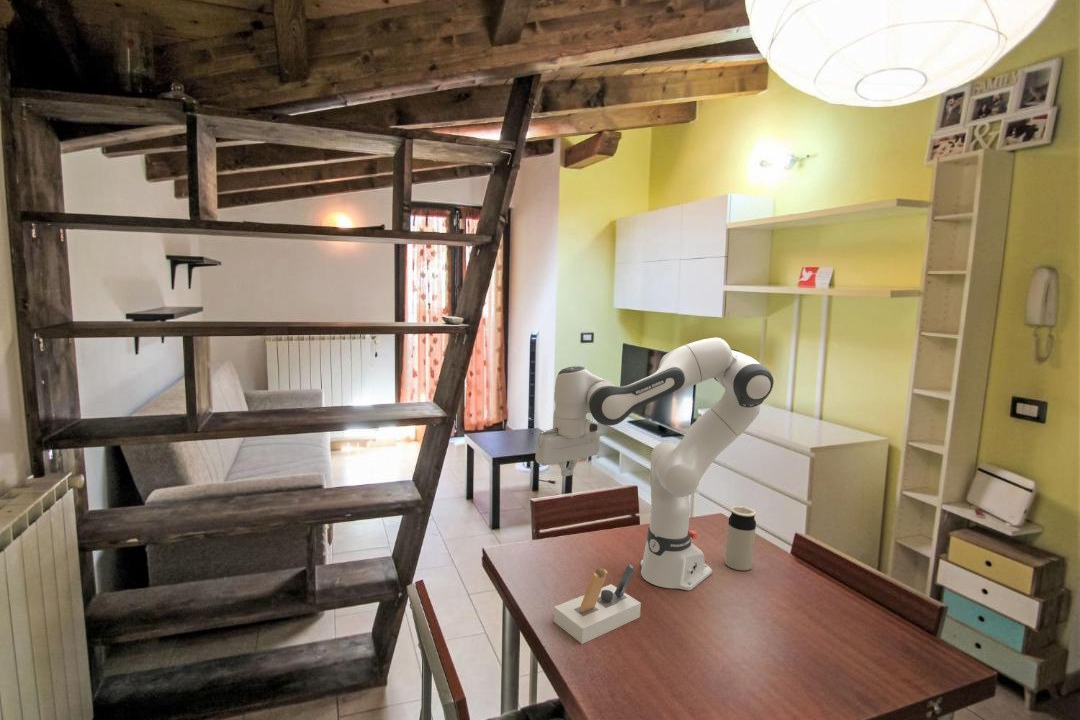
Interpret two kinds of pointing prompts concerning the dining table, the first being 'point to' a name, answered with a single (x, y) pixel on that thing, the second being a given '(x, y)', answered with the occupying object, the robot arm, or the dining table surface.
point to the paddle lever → (593, 589)
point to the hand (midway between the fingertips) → (567, 475)
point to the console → (596, 615)
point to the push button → (606, 595)
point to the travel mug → (740, 538)
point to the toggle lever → (624, 580)
